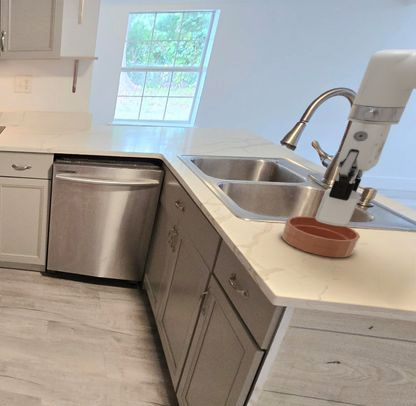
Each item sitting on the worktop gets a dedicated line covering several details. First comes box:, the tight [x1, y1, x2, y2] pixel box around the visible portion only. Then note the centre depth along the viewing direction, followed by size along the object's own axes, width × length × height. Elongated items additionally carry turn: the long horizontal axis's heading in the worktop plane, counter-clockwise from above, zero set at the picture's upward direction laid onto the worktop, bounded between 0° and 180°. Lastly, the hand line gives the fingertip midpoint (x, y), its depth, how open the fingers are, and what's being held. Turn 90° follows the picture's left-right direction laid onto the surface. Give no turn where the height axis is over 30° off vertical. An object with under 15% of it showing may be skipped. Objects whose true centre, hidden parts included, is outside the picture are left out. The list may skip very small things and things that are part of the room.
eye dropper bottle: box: [314, 180, 360, 226], centre depth 83 cm, size 4×6×12 cm
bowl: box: [281, 215, 361, 258], centre depth 96 cm, size 14×14×5 cm
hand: (341, 195), depth 82 cm, fingers closed on eye dropper bottle, 3 cm apart
